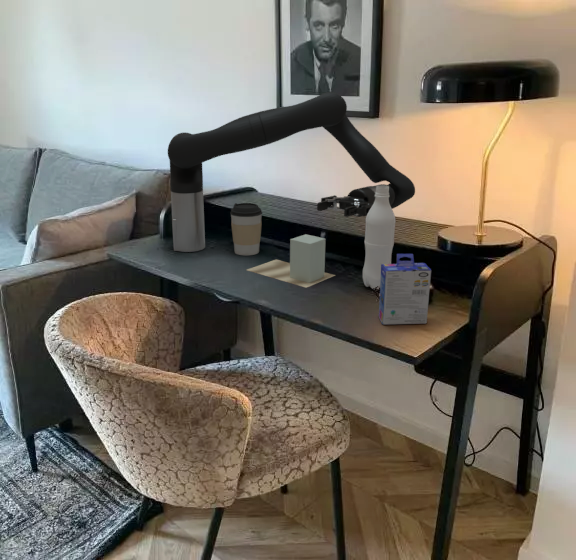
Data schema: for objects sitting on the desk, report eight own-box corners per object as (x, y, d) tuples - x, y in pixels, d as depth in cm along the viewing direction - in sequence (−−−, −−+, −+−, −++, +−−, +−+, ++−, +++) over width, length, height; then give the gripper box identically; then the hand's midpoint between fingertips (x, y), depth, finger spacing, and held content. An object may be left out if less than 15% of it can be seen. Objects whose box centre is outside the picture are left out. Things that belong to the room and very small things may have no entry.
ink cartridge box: (420, 314, 134) (426, 251, 129) (428, 324, 129) (434, 259, 124) (376, 315, 133) (380, 252, 129) (382, 325, 128) (386, 260, 123)
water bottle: (394, 291, 148) (401, 189, 139) (364, 291, 147) (370, 189, 139) (387, 281, 154) (394, 183, 146) (359, 281, 154) (364, 183, 146)
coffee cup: (264, 251, 178) (264, 201, 173) (260, 261, 169) (259, 208, 164) (234, 250, 178) (233, 200, 173) (228, 259, 170) (226, 207, 165)
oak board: (246, 274, 158) (245, 255, 157) (276, 263, 167) (276, 245, 165) (306, 292, 146) (306, 271, 145) (335, 279, 155) (336, 260, 153)
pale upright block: (289, 277, 153) (290, 239, 149) (305, 271, 157) (305, 234, 154) (309, 283, 149) (310, 244, 146) (324, 276, 154) (325, 238, 150)
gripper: (346, 183, 170) (310, 191, 158) (390, 191, 161) (355, 199, 150) (344, 209, 172) (309, 219, 161) (387, 218, 164) (353, 229, 152)
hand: (331, 209), depth 155 cm, fingers open, 8 cm apart
